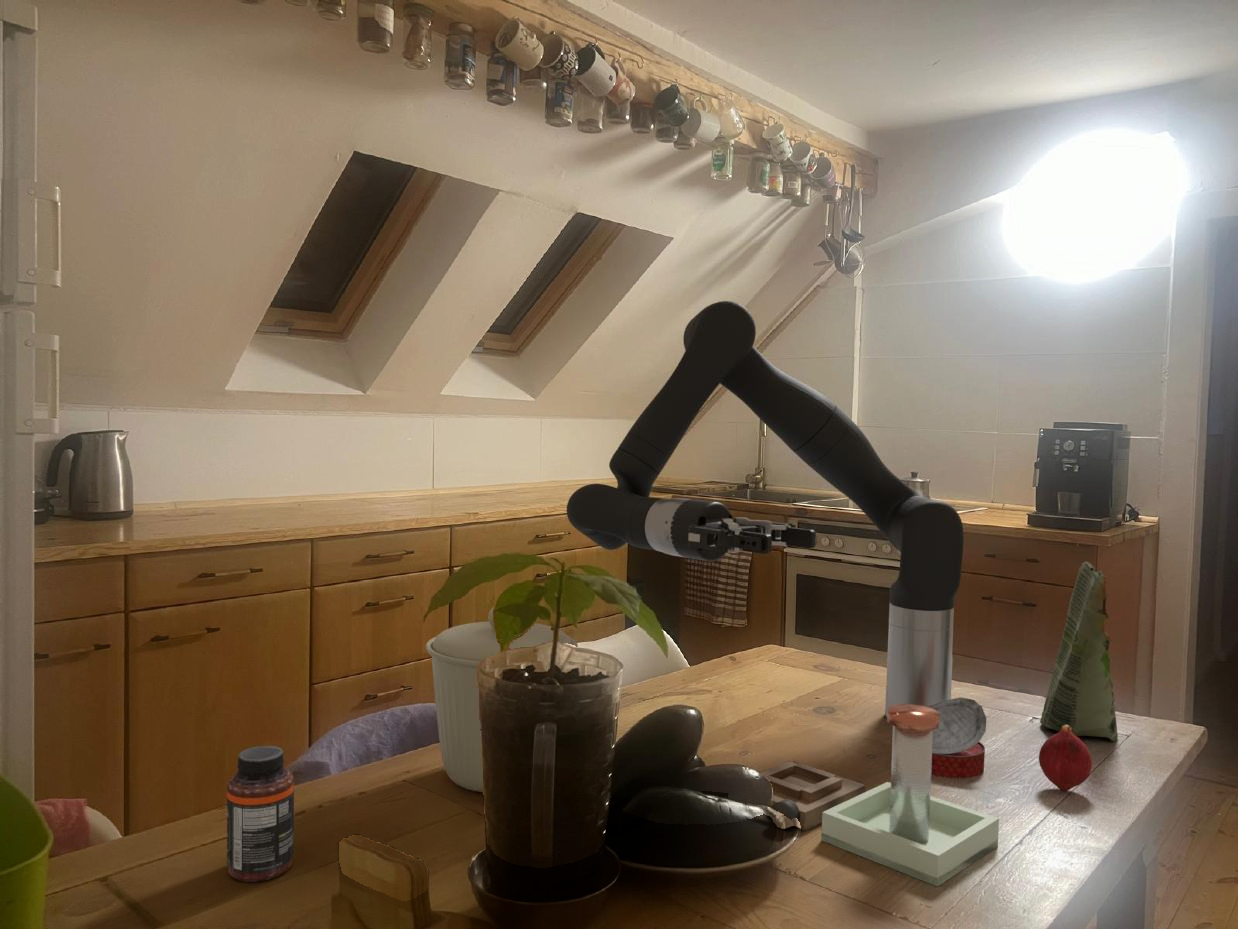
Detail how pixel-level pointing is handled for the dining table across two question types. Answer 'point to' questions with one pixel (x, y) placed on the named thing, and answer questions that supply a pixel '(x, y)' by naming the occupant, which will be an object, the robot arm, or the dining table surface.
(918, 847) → the tray
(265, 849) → the supplement bottle
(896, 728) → the pin
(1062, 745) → the onion
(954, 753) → the canned food
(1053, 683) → the pouch
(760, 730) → the dining table surface
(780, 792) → the brown socket base
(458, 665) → the canister
